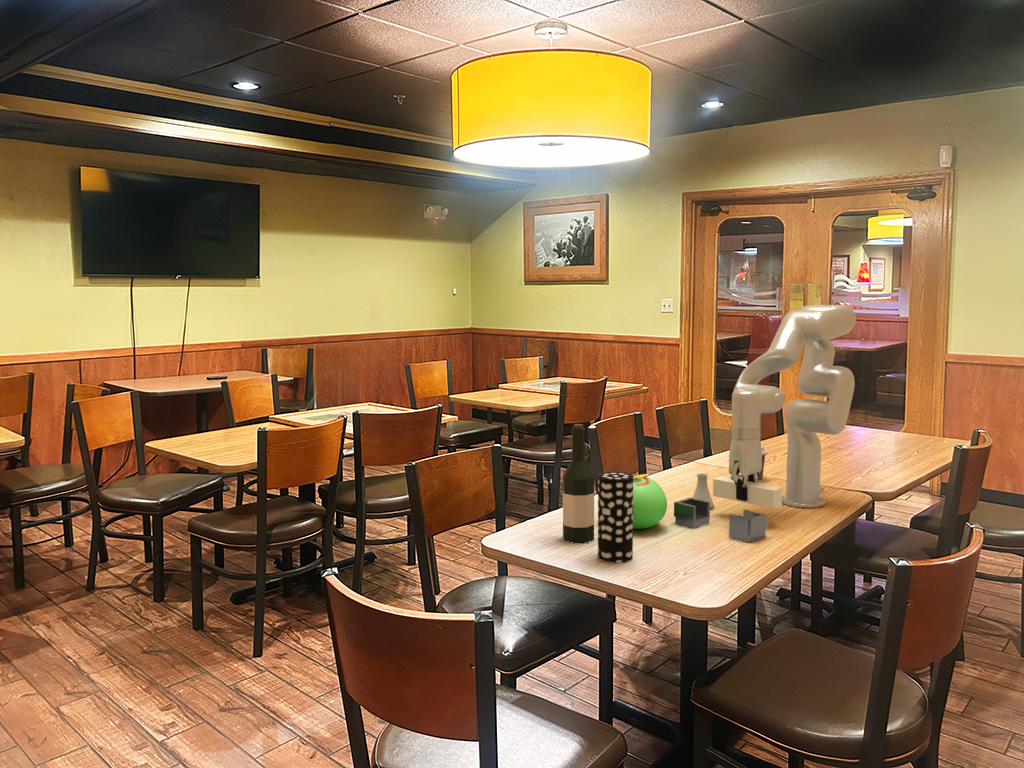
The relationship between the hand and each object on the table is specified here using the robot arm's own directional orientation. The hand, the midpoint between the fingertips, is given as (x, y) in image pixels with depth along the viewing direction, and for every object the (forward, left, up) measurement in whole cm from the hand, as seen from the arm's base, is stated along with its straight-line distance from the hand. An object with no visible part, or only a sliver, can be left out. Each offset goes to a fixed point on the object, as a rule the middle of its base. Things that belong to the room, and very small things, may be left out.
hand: (746, 497), depth 215 cm
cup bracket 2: (+13, +8, -7) cm, 17 cm away
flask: (-3, -17, -7) cm, 18 cm away
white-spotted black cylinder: (+50, -5, -7) cm, 51 cm away
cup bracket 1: (+13, -9, -7) cm, 17 cm away
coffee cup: (-44, -25, -7) cm, 51 cm away
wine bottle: (+46, -21, -7) cm, 51 cm away
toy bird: (+27, -18, -7) cm, 33 cm away
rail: (0, 0, -1) cm, 1 cm away
